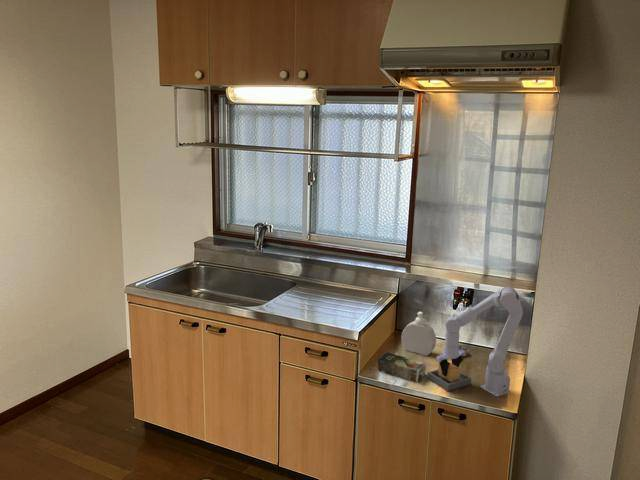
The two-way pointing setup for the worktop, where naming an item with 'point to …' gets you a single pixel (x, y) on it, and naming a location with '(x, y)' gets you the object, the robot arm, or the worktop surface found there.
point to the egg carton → (463, 349)
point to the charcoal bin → (445, 383)
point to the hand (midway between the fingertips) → (449, 373)
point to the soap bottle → (419, 336)
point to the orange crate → (450, 373)
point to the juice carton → (402, 367)
